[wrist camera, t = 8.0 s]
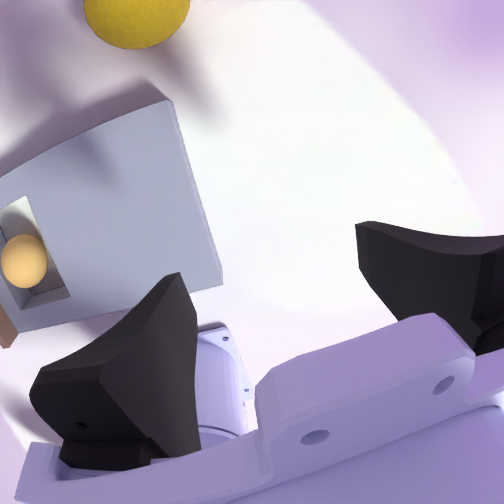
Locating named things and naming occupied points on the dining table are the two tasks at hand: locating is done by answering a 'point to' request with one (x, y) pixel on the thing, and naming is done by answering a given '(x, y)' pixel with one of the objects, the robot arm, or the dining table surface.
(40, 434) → the dining table surface
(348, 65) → the dining table surface
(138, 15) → the lemon
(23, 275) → the ball
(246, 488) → the robot arm
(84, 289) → the grey piece
